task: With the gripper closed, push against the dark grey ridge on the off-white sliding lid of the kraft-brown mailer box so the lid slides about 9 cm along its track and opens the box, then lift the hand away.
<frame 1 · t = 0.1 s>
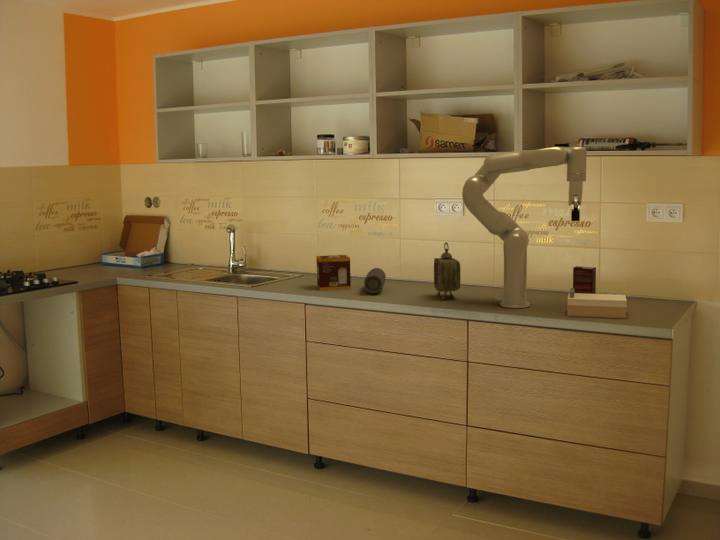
hand: (575, 219, 324), 37 cm above the worktop, tool pointing down, fingers open, 9 cm apart
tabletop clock: (447, 298, 356), on the worktop
mailer base: (596, 314, 317), on the worktop
bluetooth speaker: (375, 291, 376), on the worktop
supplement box: (583, 304, 337), on the worktop
supplement box 2: (333, 288, 386), on the worktop
mailer lid: (596, 297, 316), point 7 cm above the worktop, slide at 0.0 cm
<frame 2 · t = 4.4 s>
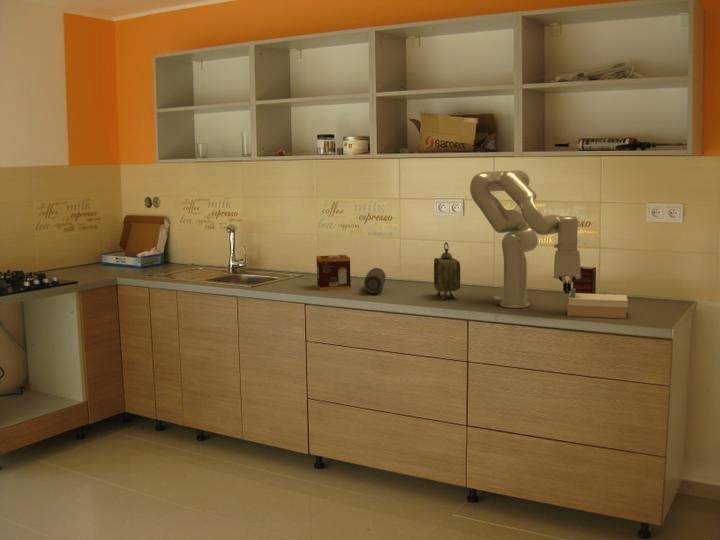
hand: (566, 292, 318), 8 cm above the worktop, tool pointing down, fingers closed
mailer lid: (597, 297, 316), point 7 cm above the worktop, slide at 0.4 cm, touching gripper
everything else where it was.
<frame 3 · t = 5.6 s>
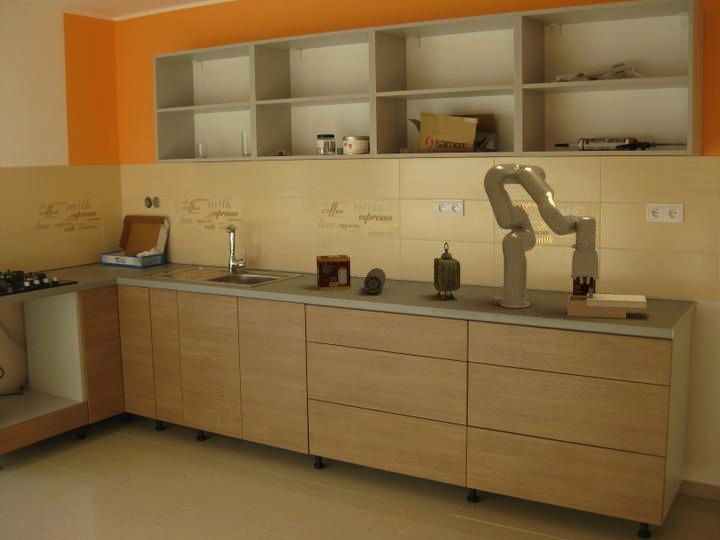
hand: (584, 293, 317), 8 cm above the worktop, tool pointing down, fingers closed
mailer lid: (615, 297, 314), point 7 cm above the worktop, slide at 7.2 cm, touching gripper
everything else where it was.
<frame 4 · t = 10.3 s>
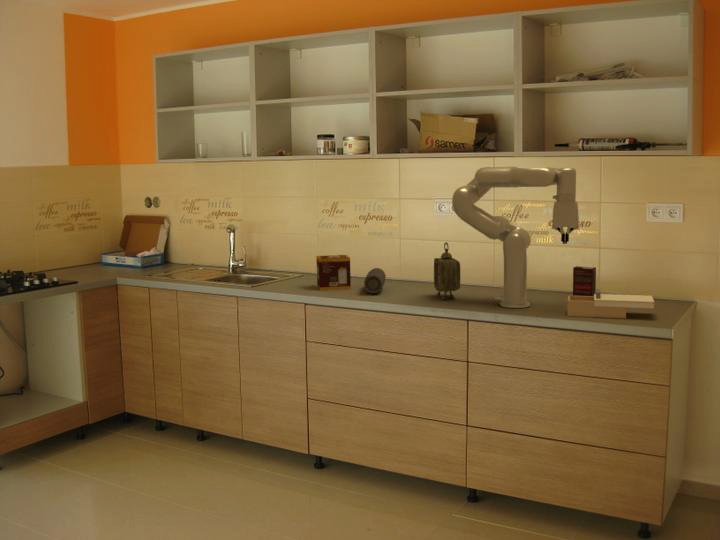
hand: (564, 243, 325), 27 cm above the worktop, tool pointing down, fingers closed
mailer lid: (623, 297, 313), point 7 cm above the worktop, slide at 10.0 cm
everything else where it was.
at the end: mailer lid slide at 10.0 cm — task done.
